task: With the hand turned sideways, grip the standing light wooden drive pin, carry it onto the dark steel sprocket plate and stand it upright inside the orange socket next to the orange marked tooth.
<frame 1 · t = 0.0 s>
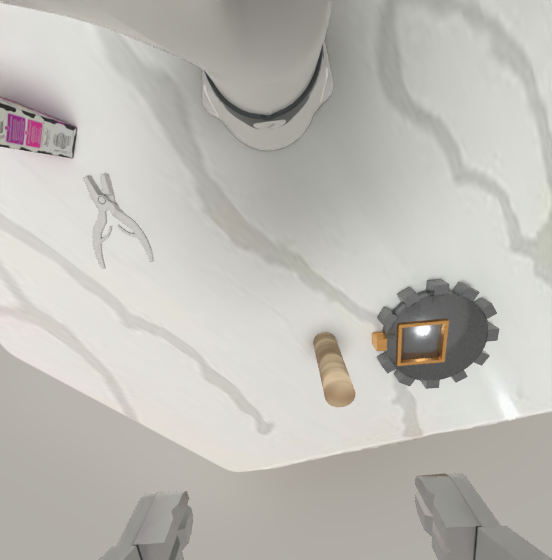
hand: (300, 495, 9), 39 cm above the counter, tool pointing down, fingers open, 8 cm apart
drive pin: (324, 342, 52), on the counter
pliers: (116, 222, 46), on the counter
candy bar box: (40, 128, 41), on the counter
sprocket: (429, 333, 51), on the counter
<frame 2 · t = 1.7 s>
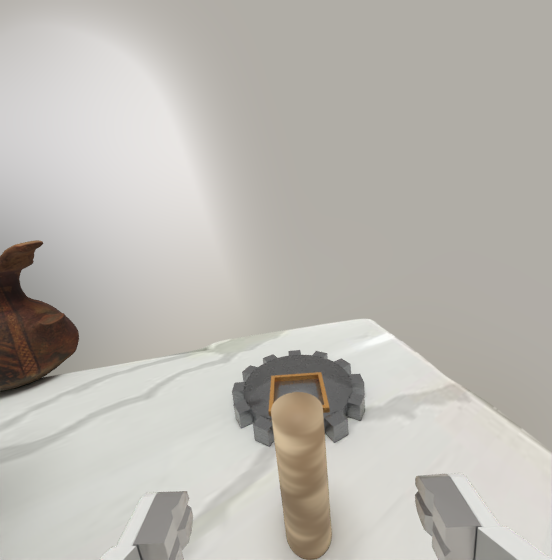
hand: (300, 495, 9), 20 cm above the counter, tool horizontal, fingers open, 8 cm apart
drive pin: (308, 531, 26), on the counter
jug: (30, 374, 62), on the counter
sprocket: (298, 395, 45), on the counter
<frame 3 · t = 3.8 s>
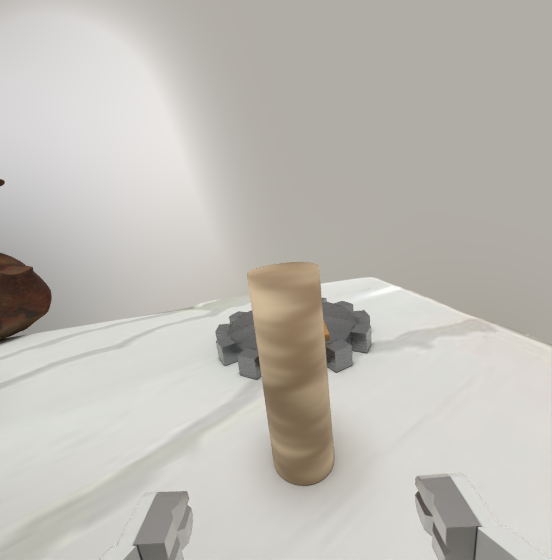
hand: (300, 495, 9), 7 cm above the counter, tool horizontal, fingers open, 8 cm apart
drive pin: (303, 456, 19), on the counter
sprocket: (292, 336, 39), on the counter
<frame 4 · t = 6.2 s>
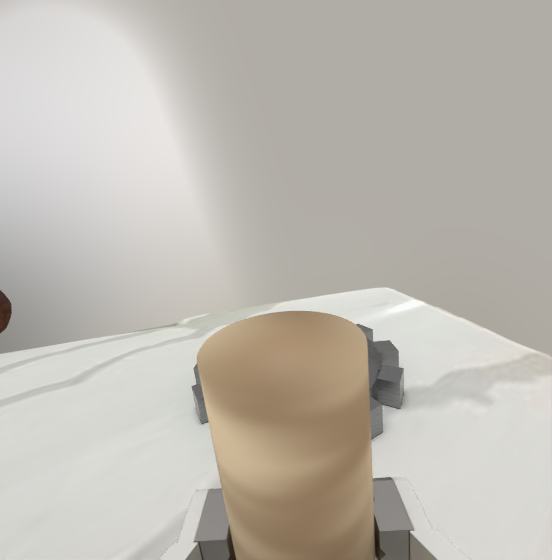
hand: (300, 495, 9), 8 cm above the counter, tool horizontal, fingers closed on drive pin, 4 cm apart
sprocket: (295, 374, 30), on the counter
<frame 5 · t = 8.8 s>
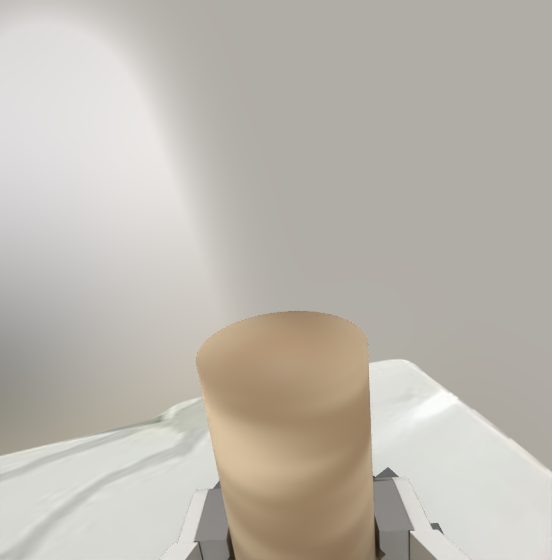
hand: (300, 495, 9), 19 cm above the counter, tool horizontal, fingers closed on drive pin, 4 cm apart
when the fingers open (11 cm above the counter, at t = 11.5 s): drive pin drops 1 cm, resting on sprocket.
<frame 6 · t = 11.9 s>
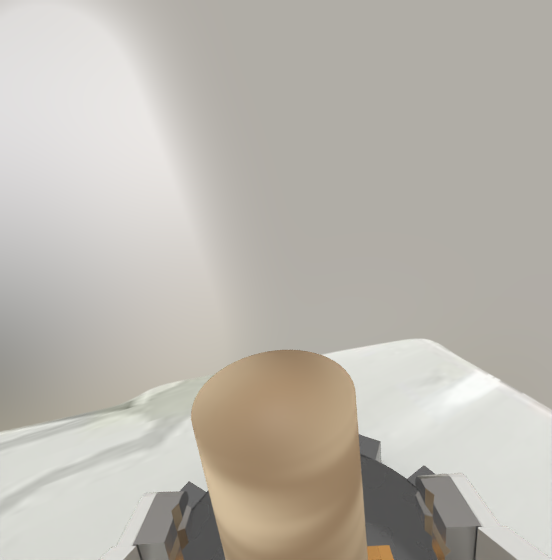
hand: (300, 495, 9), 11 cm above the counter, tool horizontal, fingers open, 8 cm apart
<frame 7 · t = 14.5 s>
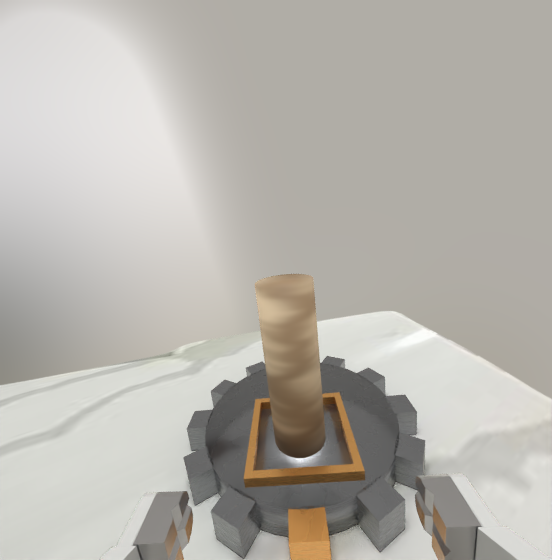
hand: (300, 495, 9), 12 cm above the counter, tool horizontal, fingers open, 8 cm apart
drive pin: (300, 435, 23), point 3 cm above the counter, touching sprocket
sprocket: (300, 432, 27), on the counter
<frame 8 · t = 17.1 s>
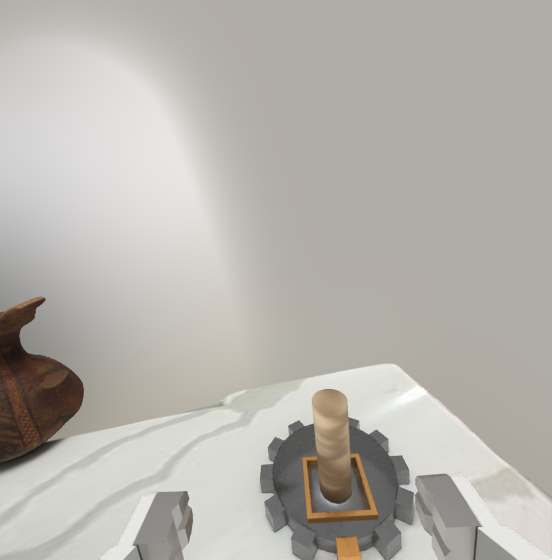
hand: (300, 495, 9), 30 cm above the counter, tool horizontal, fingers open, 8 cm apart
drive pin: (335, 487, 37), point 3 cm above the counter, touching sprocket
jug: (31, 437, 57), on the counter
sprocket: (333, 480, 41), on the counter
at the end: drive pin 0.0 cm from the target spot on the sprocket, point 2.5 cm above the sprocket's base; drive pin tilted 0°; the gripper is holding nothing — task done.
